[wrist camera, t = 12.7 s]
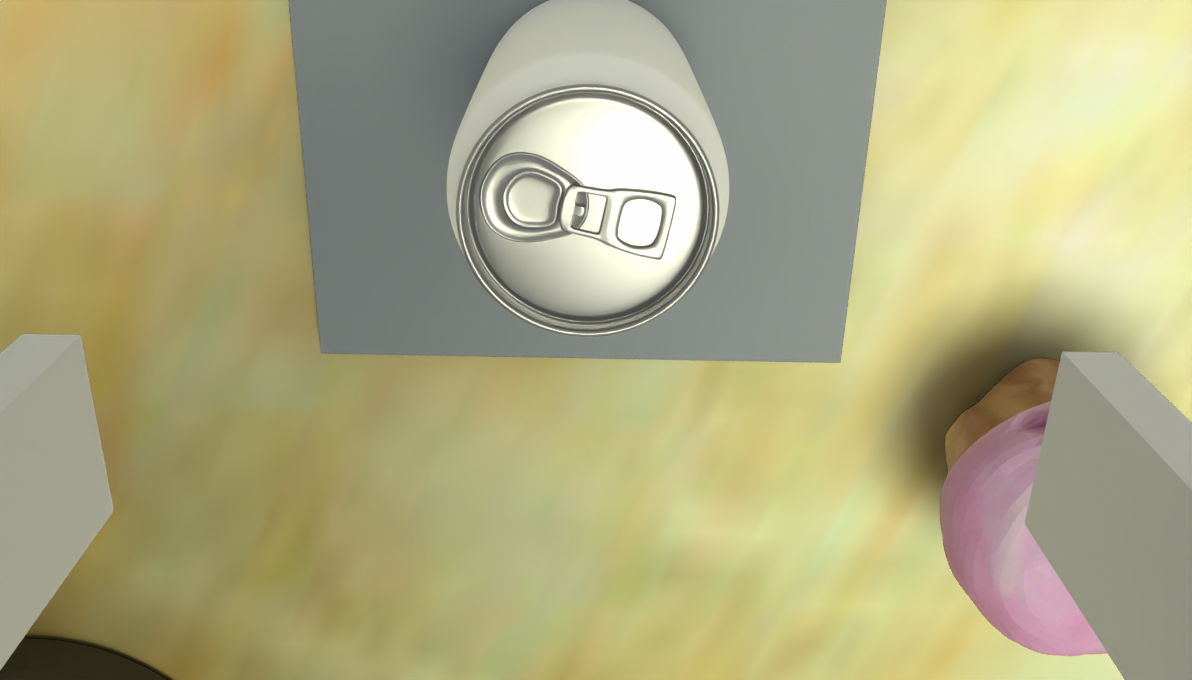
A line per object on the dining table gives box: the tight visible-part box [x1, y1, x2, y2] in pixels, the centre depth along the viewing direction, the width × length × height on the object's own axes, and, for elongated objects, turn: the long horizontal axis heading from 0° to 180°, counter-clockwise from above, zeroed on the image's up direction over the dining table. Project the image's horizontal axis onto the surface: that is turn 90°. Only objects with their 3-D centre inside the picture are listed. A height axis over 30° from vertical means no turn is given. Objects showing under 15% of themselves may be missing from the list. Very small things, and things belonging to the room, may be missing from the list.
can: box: [447, 0, 729, 337], centre depth 29 cm, size 6×6×12 cm
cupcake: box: [940, 358, 1107, 656], centre depth 36 cm, size 9×9×10 cm
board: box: [289, 0, 887, 363], centre depth 35 cm, size 18×18×1 cm
